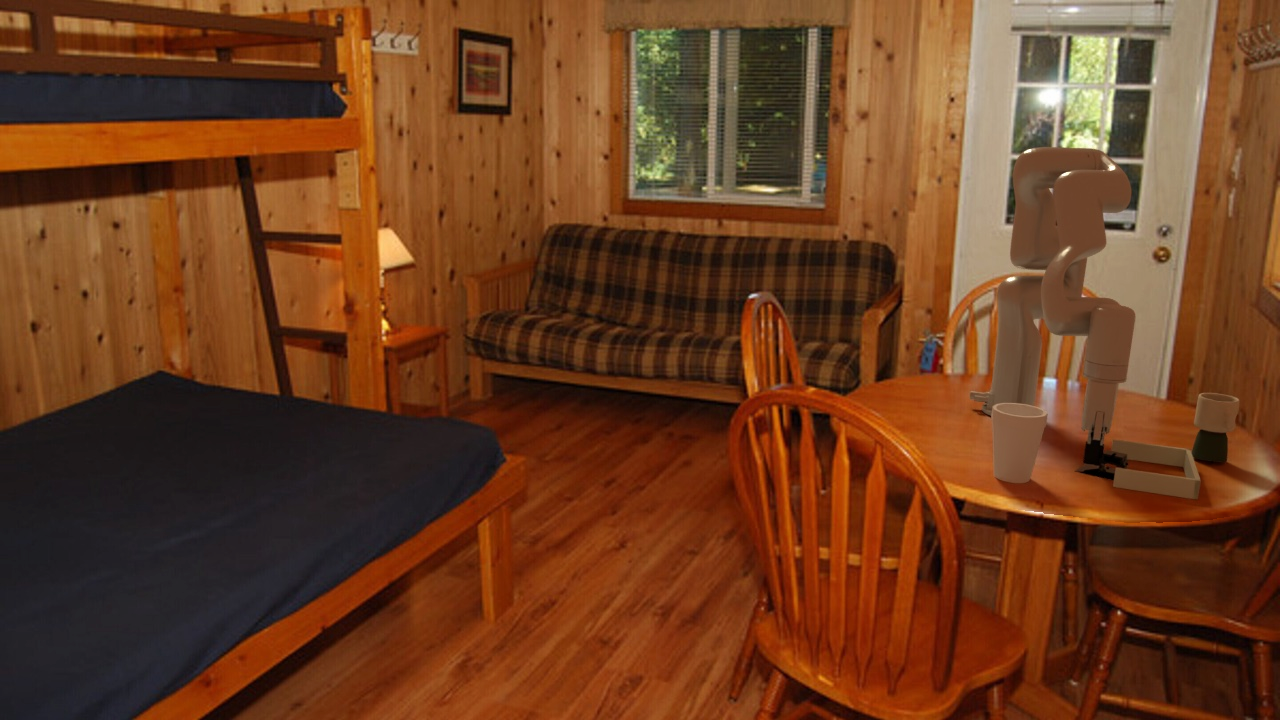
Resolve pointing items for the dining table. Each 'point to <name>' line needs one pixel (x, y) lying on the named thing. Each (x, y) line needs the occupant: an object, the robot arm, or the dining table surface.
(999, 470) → the foam cup
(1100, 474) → the black piece
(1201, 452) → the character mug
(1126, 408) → the dining table surface
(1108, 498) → the dining table surface
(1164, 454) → the corral
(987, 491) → the dining table surface
